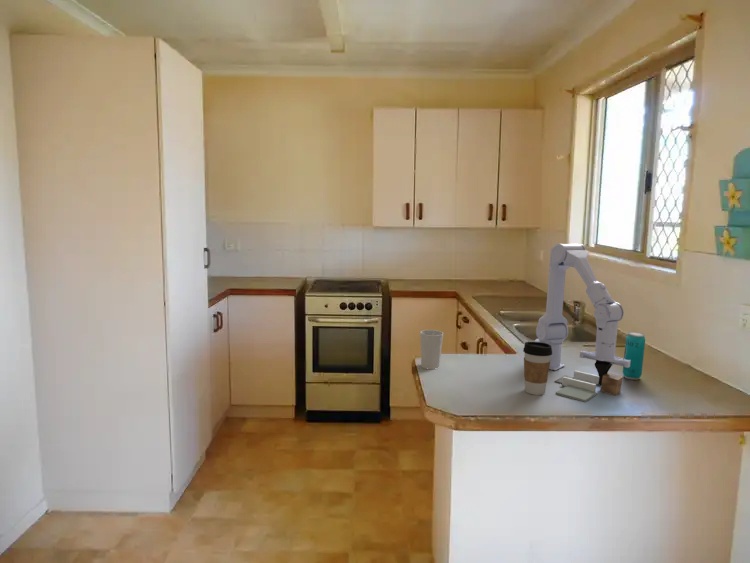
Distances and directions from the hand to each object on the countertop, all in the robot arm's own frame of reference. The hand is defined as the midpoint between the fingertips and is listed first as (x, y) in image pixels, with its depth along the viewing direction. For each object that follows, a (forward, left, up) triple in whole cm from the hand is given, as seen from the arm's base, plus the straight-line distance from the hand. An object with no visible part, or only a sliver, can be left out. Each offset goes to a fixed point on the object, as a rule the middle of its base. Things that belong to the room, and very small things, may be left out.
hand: (601, 384), depth 167 cm
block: (+3, 0, -2) cm, 3 cm away
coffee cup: (-14, -17, -2) cm, 22 cm away
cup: (-51, -20, -2) cm, 55 cm away
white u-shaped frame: (-7, 0, -1) cm, 7 cm away
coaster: (-4, -10, -2) cm, 11 cm away
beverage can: (+3, +19, -2) cm, 19 cm away
